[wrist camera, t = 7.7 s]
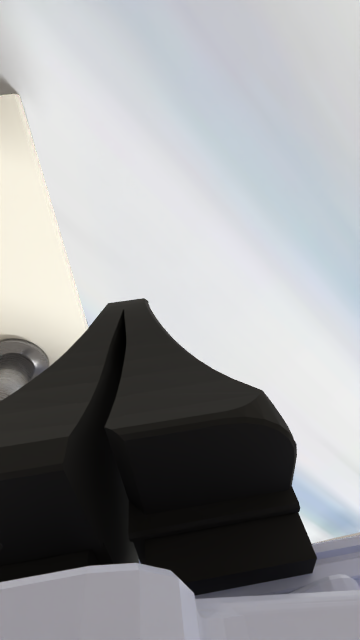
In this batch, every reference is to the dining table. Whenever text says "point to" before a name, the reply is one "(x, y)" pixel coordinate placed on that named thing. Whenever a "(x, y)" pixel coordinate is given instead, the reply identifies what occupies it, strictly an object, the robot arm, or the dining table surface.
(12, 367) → the hinge post
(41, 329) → the board
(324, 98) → the dining table surface
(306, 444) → the dining table surface
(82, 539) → the robot arm
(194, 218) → the dining table surface
